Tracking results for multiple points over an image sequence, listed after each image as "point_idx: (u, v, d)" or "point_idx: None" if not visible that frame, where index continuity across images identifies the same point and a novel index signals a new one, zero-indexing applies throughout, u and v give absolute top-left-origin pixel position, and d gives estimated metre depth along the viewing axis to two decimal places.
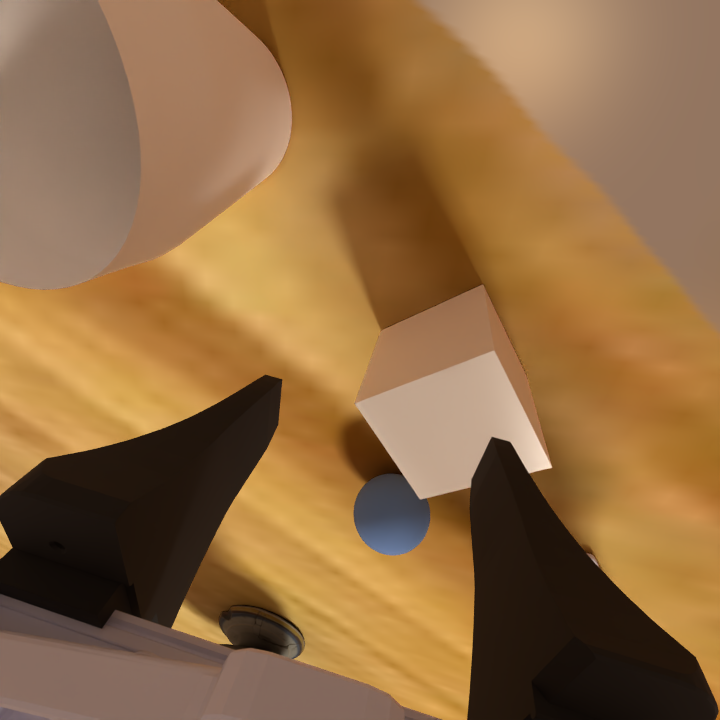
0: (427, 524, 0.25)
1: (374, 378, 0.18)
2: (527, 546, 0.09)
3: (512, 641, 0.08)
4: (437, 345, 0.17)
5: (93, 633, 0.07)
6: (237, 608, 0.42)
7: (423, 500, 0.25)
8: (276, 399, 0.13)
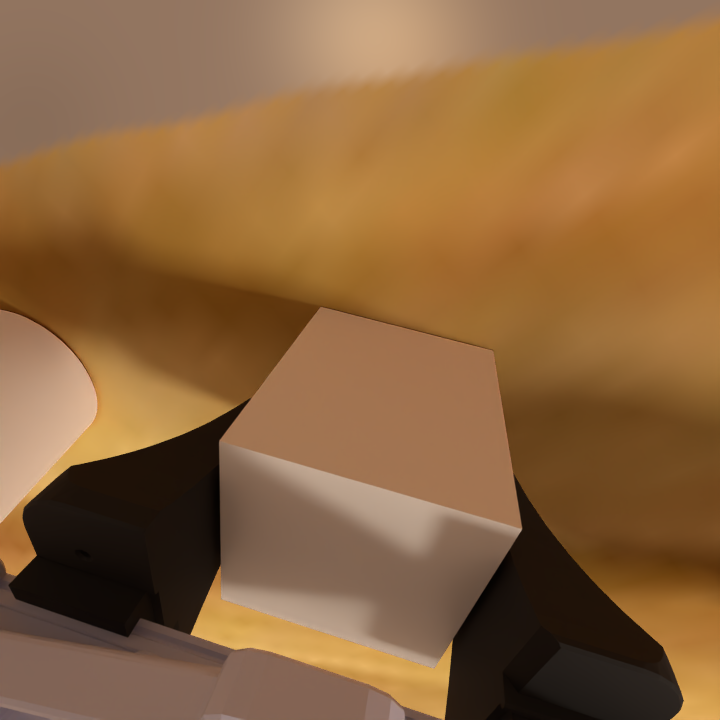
0: None
1: None
2: None
3: (487, 633, 0.08)
4: None
5: (119, 642, 0.07)
6: None
7: None
8: None
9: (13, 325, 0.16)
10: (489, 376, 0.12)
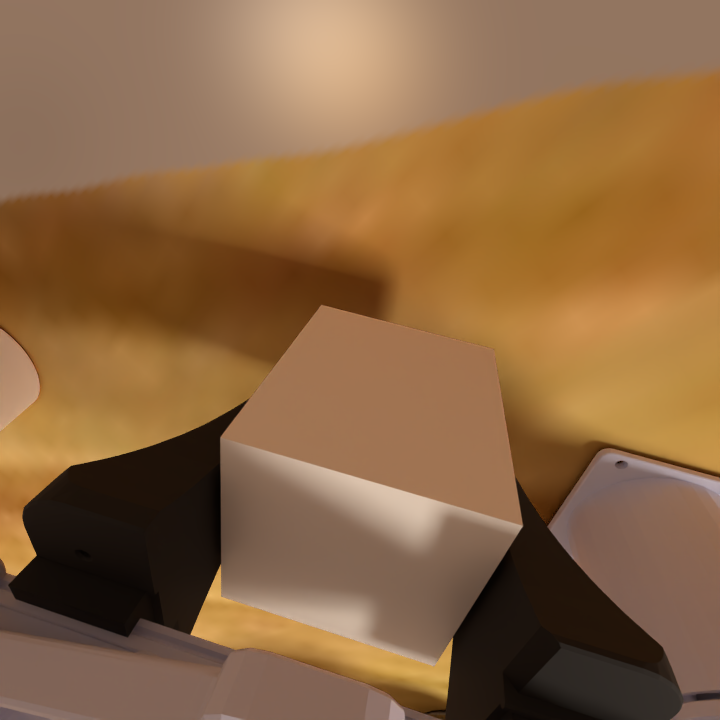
0: None
1: None
2: None
3: (487, 633, 0.08)
4: None
5: (119, 642, 0.07)
6: None
7: None
8: None
9: None
10: (490, 374, 0.12)
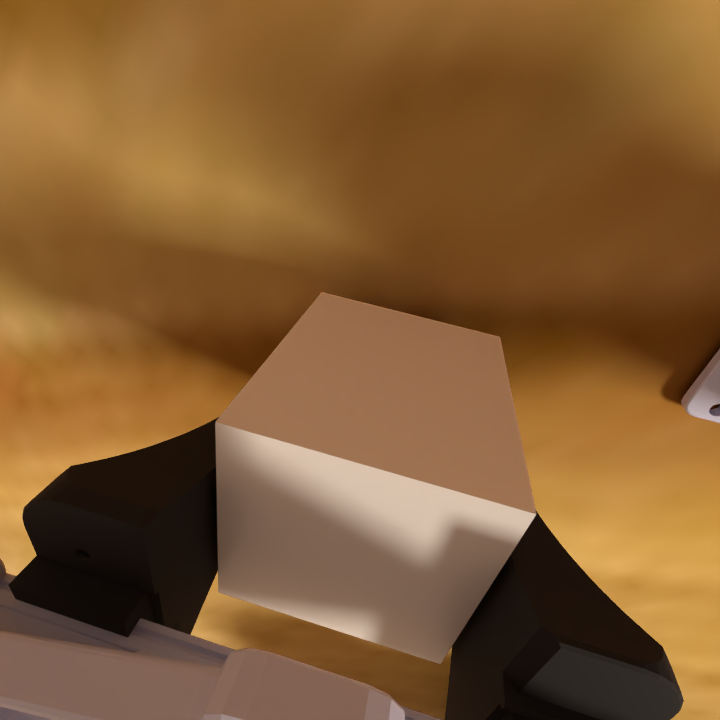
0: None
1: None
2: None
3: (487, 633, 0.08)
4: None
5: (119, 642, 0.07)
6: None
7: None
8: None
9: None
10: (496, 361, 0.11)
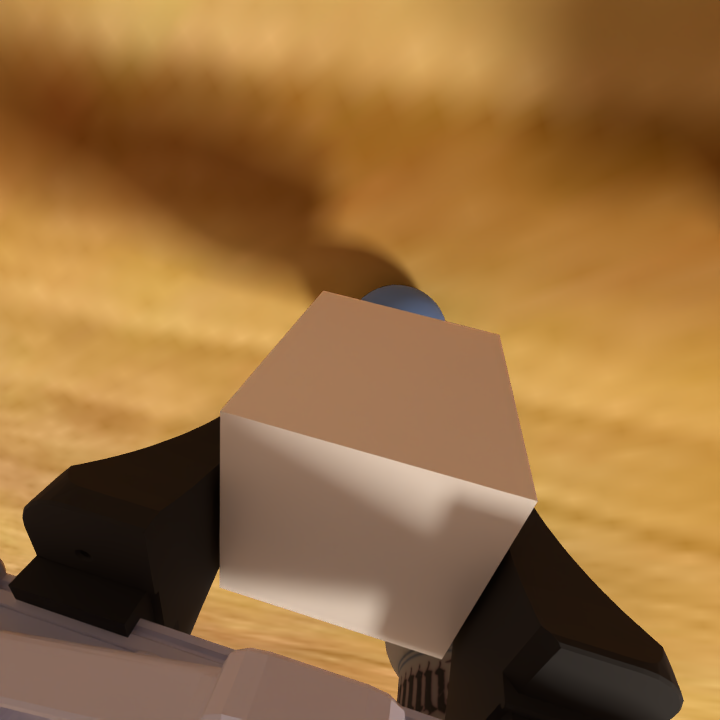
0: None
1: None
2: None
3: (487, 633, 0.08)
4: None
5: (119, 642, 0.07)
6: None
7: None
8: None
9: None
10: (496, 358, 0.12)
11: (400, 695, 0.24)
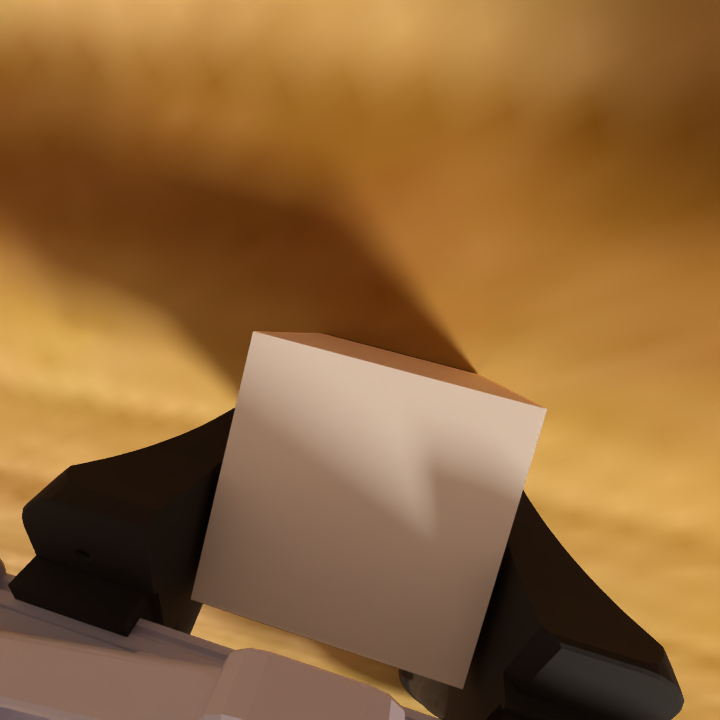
0: None
1: None
2: None
3: (487, 633, 0.08)
4: None
5: (119, 642, 0.07)
6: None
7: None
8: None
9: None
10: (481, 377, 0.13)
11: None
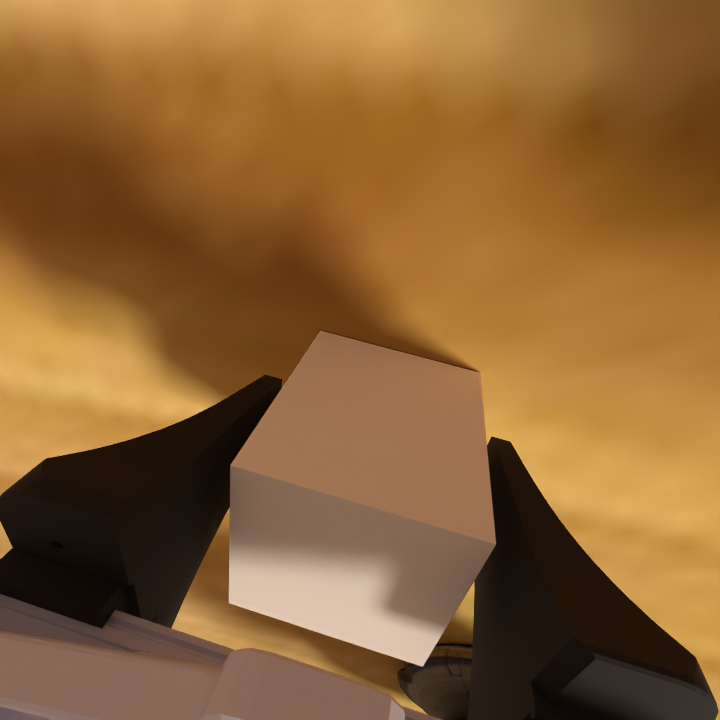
0: None
1: None
2: (527, 546, 0.09)
3: (512, 641, 0.08)
4: None
5: (93, 633, 0.07)
6: None
7: None
8: None
9: None
10: (475, 398, 0.13)
11: None
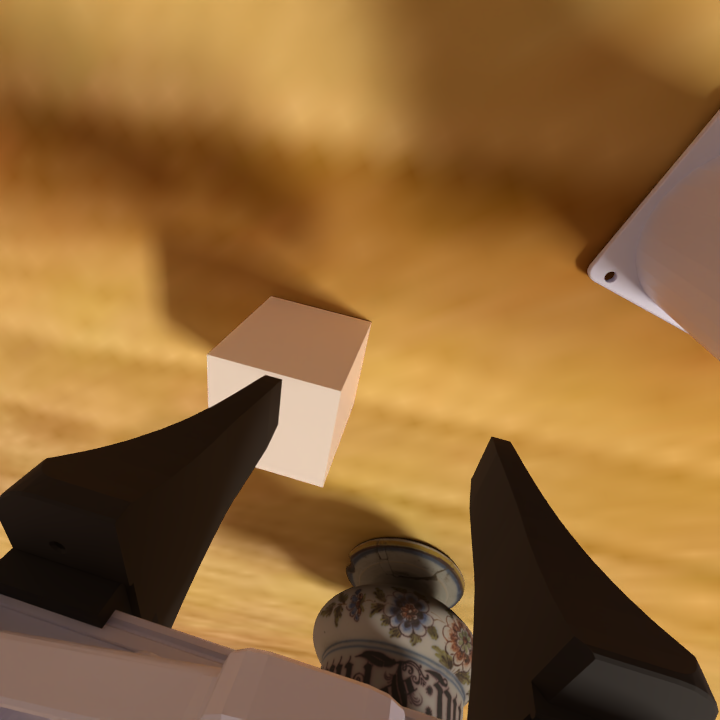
0: None
1: None
2: (527, 546, 0.09)
3: (512, 641, 0.08)
4: None
5: (93, 633, 0.07)
6: (354, 550, 0.33)
7: None
8: (276, 399, 0.13)
9: None
10: (360, 334, 0.21)
11: None
